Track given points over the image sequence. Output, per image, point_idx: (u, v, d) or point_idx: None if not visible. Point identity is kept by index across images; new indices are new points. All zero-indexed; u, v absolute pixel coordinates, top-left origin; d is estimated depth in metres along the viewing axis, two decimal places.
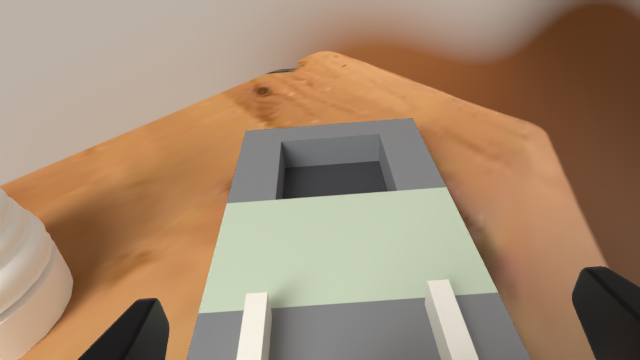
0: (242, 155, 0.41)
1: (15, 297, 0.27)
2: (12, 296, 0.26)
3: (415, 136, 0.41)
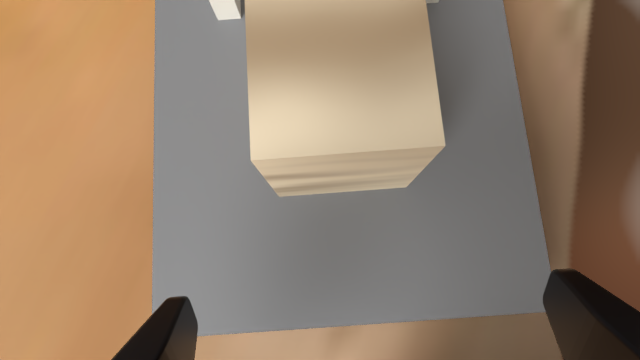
0: None
1: None
2: None
3: None
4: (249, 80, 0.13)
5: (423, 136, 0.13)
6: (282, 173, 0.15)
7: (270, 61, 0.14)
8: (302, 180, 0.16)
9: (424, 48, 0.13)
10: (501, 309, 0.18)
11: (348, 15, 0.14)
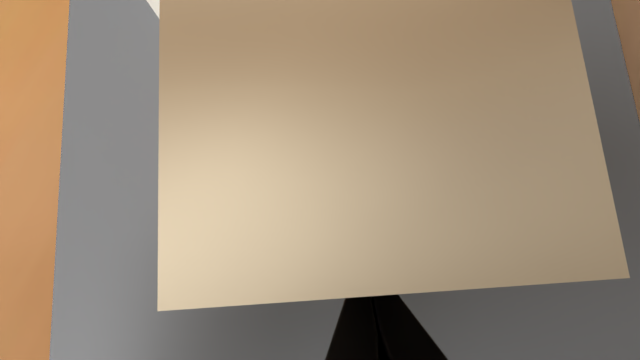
0: None
1: None
2: None
3: None
4: (162, 114, 0.06)
5: (573, 253, 0.05)
6: None
7: (211, 73, 0.06)
8: None
9: (561, 41, 0.06)
10: None
11: None
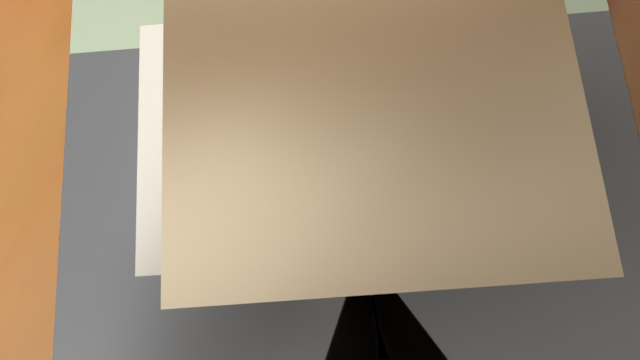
0: None
1: None
2: None
3: None
4: (166, 117, 0.06)
5: (568, 252, 0.05)
6: None
7: (213, 76, 0.06)
8: None
9: (556, 46, 0.06)
10: None
11: None
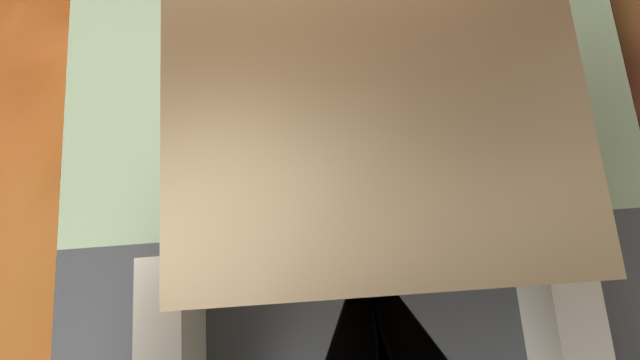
0: None
1: None
2: None
3: None
4: (164, 117, 0.06)
5: (571, 254, 0.05)
6: None
7: (212, 75, 0.06)
8: None
9: (560, 44, 0.06)
10: None
11: None
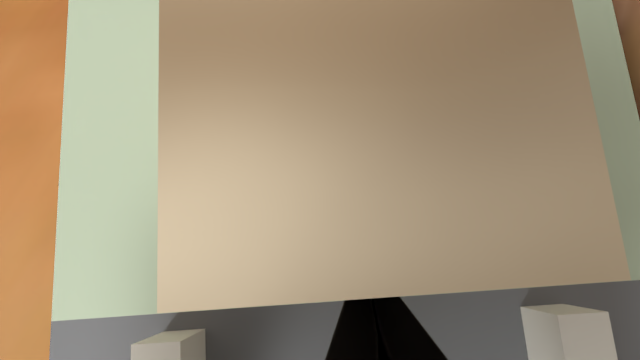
0: None
1: None
2: None
3: None
4: (162, 116, 0.06)
5: (574, 255, 0.05)
6: None
7: (211, 74, 0.06)
8: None
9: (562, 42, 0.06)
10: None
11: None
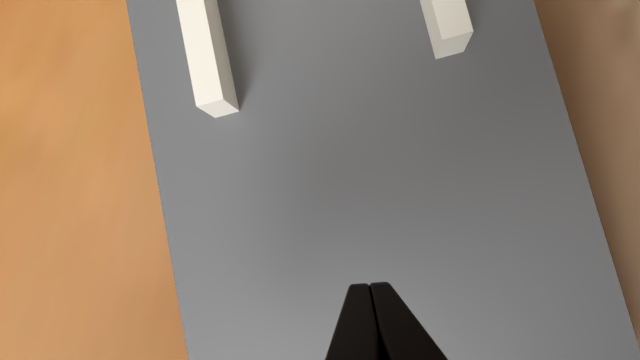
0: None
1: None
2: None
3: None
4: None
5: None
6: None
7: None
8: None
9: None
10: None
11: None
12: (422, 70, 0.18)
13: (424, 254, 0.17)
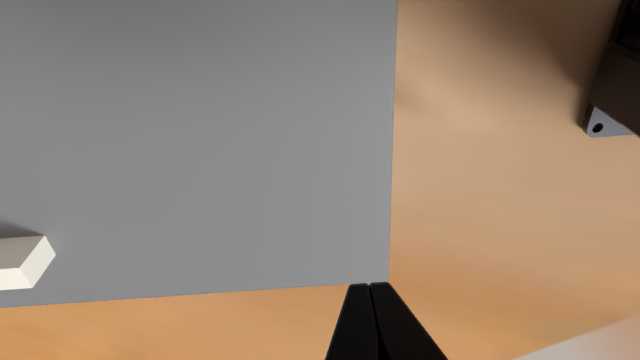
0: None
1: None
2: None
3: None
4: None
5: None
6: None
7: None
8: None
9: None
10: None
11: None
12: None
13: (185, 81, 0.15)
